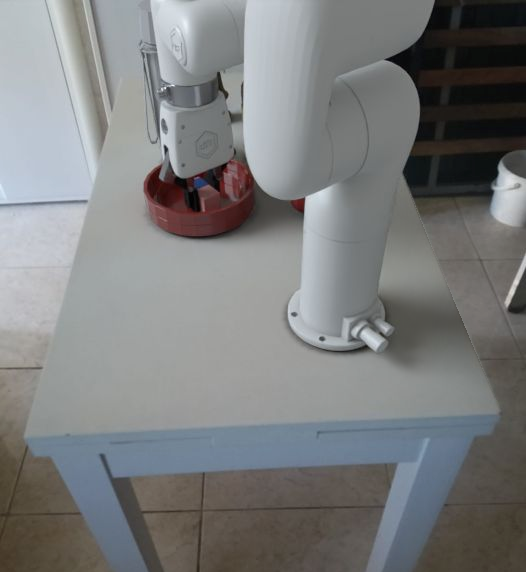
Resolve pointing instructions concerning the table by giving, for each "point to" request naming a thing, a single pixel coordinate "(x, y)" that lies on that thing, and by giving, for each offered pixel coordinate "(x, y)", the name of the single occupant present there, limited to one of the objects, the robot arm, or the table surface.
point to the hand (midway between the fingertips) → (203, 203)
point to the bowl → (184, 221)
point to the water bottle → (150, 67)
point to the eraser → (207, 195)
